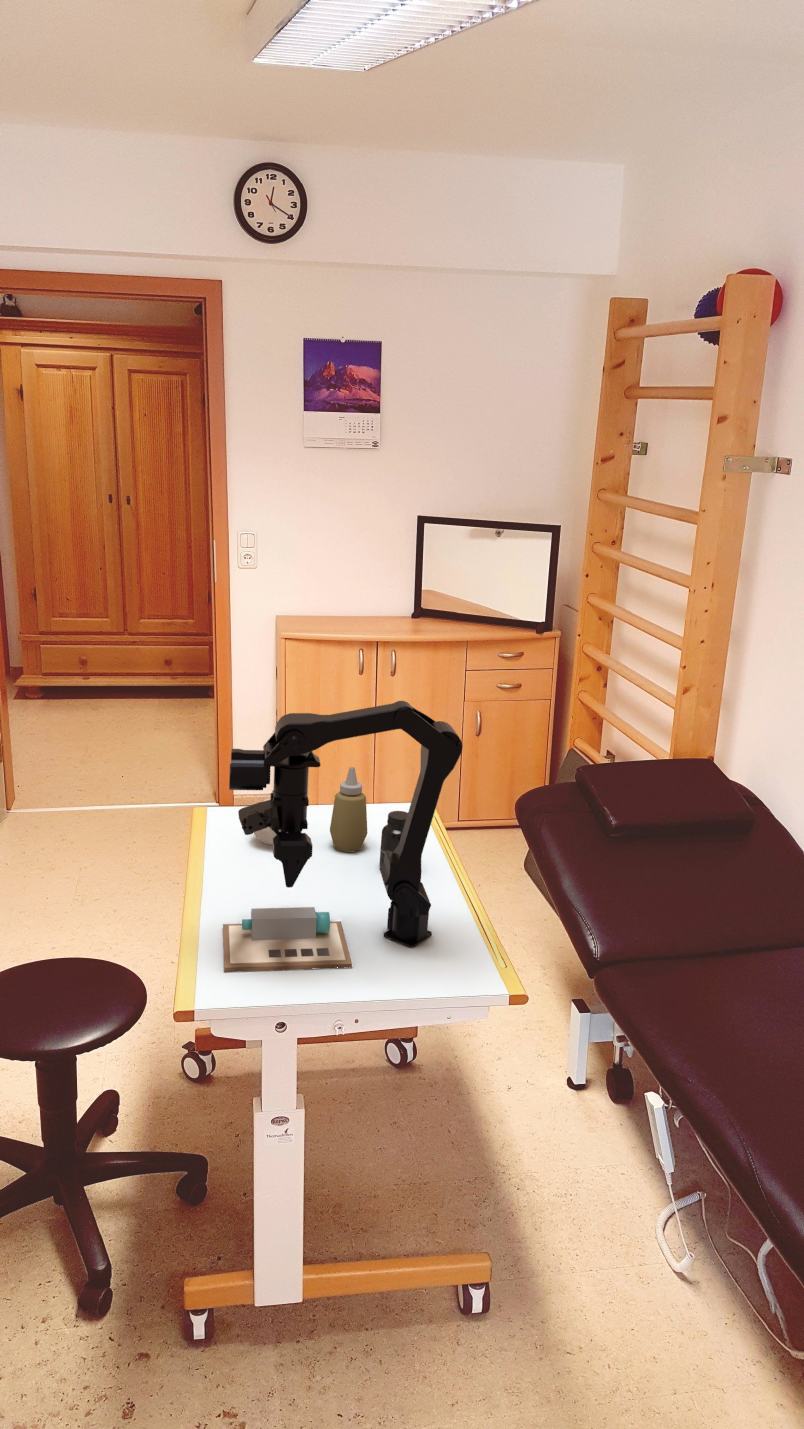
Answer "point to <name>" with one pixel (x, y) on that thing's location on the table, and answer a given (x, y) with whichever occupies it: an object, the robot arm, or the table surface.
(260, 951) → the brown framed board
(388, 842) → the supplement bottle
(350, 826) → the squeeze bottle
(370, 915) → the table surface
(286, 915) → the marker
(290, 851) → the robot arm
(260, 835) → the beige ball
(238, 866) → the table surface
